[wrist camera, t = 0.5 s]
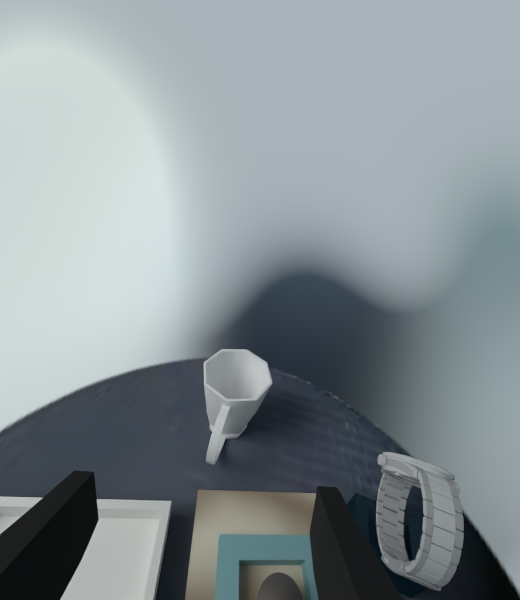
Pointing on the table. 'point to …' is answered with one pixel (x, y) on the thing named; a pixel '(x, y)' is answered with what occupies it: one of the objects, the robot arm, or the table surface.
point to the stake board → (256, 521)
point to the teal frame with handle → (261, 559)
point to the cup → (232, 394)
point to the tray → (113, 548)
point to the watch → (413, 524)
